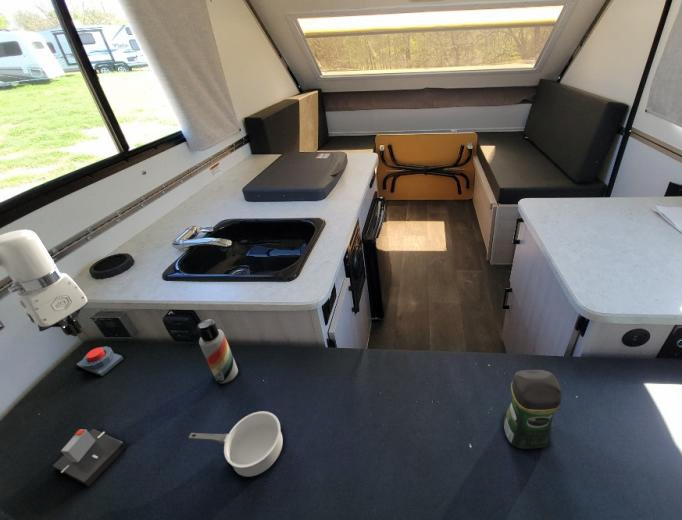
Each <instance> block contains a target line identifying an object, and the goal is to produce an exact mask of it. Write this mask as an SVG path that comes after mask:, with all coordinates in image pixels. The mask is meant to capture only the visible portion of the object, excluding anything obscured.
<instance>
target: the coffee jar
mask: <svg viewBox="0 0 682 520" xmlns="http://www.w3.org/2000/svg"><path fill="white" fill-rule="evenodd" d="M510 390H511V395H512V397H511V399H510V403H509V405H508V407H507V410H506V412H505V415H504V418H503V429H504V432H505V435H506V438H507V440H508V442H509V443H511V445H512V446H514V447H515V448H518V449H524V450H534V449H535V450H536V449H540V448H545V447H547V445H548V444H549V442H550V438H551V430H552V423H553V419H554V415H555V413H556V411H558V409H559V408H560V406H561V405H562V395H563V394H562V389H561V386H560V383H559V381H558V379H557V378H556V376H555V374H554V373H553V372H552V373H551V372H550V371H547V370H545V369H525V370H518V371H516V372H515V374H514V376H513V379H512V381H511V383H510Z"/></svg>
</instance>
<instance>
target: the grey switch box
mask: <svg viewBox="0 0 682 520" xmlns="http://www.w3.org/2000/svg"><path fill="white" fill-rule="evenodd" d="M88 432H89V434H90V435H91V436H92V437H93V438H94V439H95V443H94V444H93V445H92V446H91V447H90V449H89V450H88V451H87V452H86V454H85V455H84V456H83V457H82V459H81V460H80V461H79V462H71V461H70V460H69V459H68V458H67V457H66V456H65V455H64V454H63V455H62V456H61V457H60V458H59V459H58V460H56V462H55V463H54V464H53V465H52V467H53V468H54V469H55V470H57V471H58V472H60V473H61V474H63V475H65V476H68V477H69V478H71V479H73V480H75V481H76V482H79V483H81V484H82V485H84V486H86V487H89V486H91V485H92V484H93V482H95V480H96V479H98V477H99V476H100V475H101V474H102V473H103V472H104V471H105V470H106V469H107V468H108V467H110V465H111V464H112V463H113V462H114V460H116V459H117V458H118V457H119V456H120V455H121V453H123V451H124V450H125V449H126V448H127V445H126V444H125V443H124V442H123V441H121V440H119V439H116V438H114V437H112V436H110V435H108V434H105V433H106V431H102V432H101V431H99V430H98V429H94V428H92V429H91V430H90V431H88Z"/></svg>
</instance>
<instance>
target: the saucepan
mask: <svg viewBox="0 0 682 520" xmlns="http://www.w3.org/2000/svg"><path fill="white" fill-rule="evenodd" d="M187 439H188V440H193V441H207V442H213V443H216V444H218V445H220V446H223V455H224V458H225V459H226V461H227V463H228V464H230V465H231V466H232V468H233V470H234V471H235V472H236V474H238V475H240V476H242V477H255V476H258V475H260V474H263V473H264V472H265V471H267V470H268V469H269V468H271V466H272V465H274V463H275V462H276V460H277V459H278V458H279V456H280V454H281V451H282V449H283V442H284V441H283V439H284V438H283V434H282V431H281V422H280V421H279V419H278V417H277V416H276V415H275V414H274V413H272V412H269V411H265V410H262V411H261V410H260V411H256V412H252V413H249V414H248V415H246V416H244V417H243V418H241V419H240V420H239V421H237V423H235V425H234V426H233V427H232V428H231V430H230V431H229V433H223V434H222V433H204V432H191V433H190V434H189V436H188V438H187Z"/></svg>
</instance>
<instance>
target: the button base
mask: <svg viewBox="0 0 682 520" xmlns="http://www.w3.org/2000/svg"><path fill="white" fill-rule="evenodd" d="M99 348H102V349H103V351H104V352H105V355H104V356H103V357H102V358H101V359H99V360H97V361H95V362H90V361H89V360H88V359H87V357H86V355H85V356H84V357H83V358H82V360H80V361H79V362H77V363H76V366H77V367H78V368H80V369H83V370H85V371H88V372H90V373H92V374H95V375H98V376H101V377H103V376H104V375H106V374H107V373H108V372H109V371H110V370H112V369H113V368H114V367H115V366H117V365H118V364H119V363H120V362H122V361H123V360H124V359H125V358H124V357H123V355H121V354H118V353H114V351H113V350H112V348H111V347H109V346H100V347H99Z"/></svg>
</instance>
